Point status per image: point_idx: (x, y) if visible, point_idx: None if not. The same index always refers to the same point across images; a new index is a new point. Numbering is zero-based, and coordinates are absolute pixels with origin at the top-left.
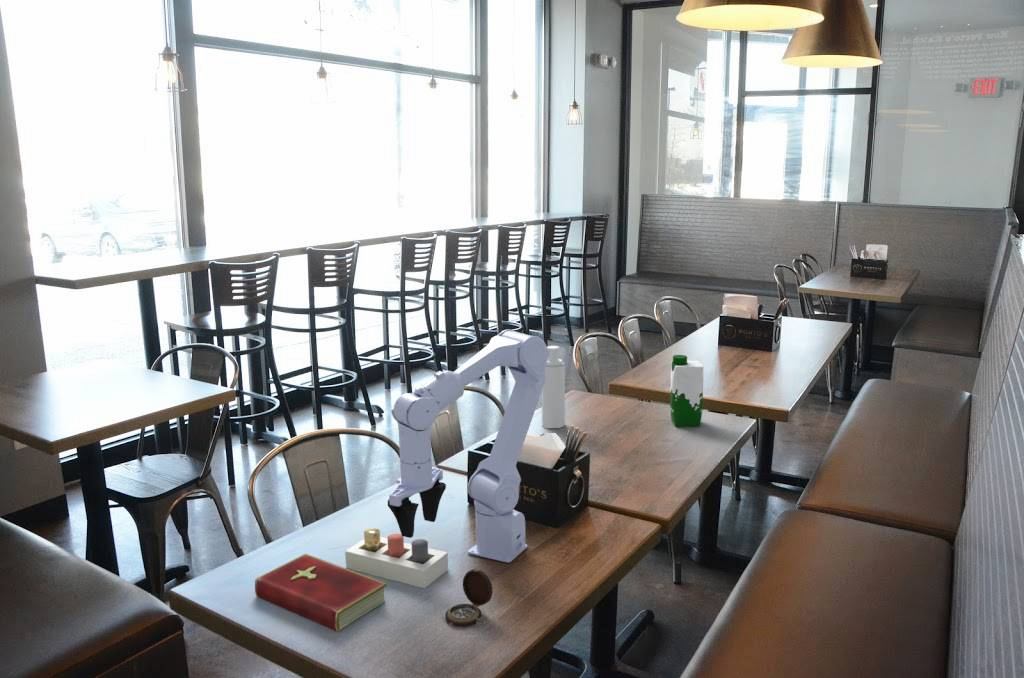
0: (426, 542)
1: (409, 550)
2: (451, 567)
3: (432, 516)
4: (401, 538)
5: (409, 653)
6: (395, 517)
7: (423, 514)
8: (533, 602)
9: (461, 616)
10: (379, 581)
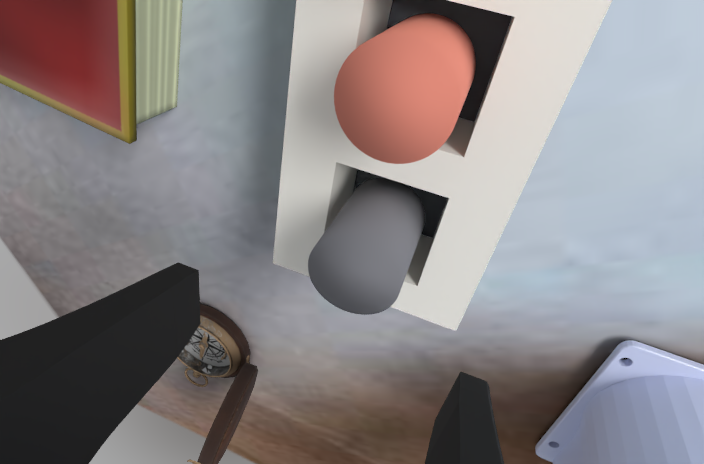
0: (366, 309)
1: (468, 144)
2: (487, 286)
3: (431, 456)
4: (384, 156)
5: (45, 245)
6: (2, 340)
7: (457, 408)
8: (329, 458)
9: None
10: (126, 105)
